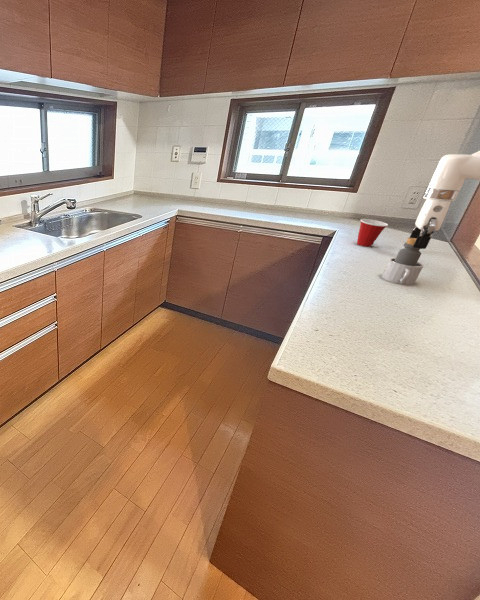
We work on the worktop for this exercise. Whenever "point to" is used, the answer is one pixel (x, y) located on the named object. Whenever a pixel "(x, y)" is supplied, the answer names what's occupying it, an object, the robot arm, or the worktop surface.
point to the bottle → (408, 253)
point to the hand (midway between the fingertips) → (416, 244)
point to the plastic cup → (369, 231)
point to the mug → (401, 272)
